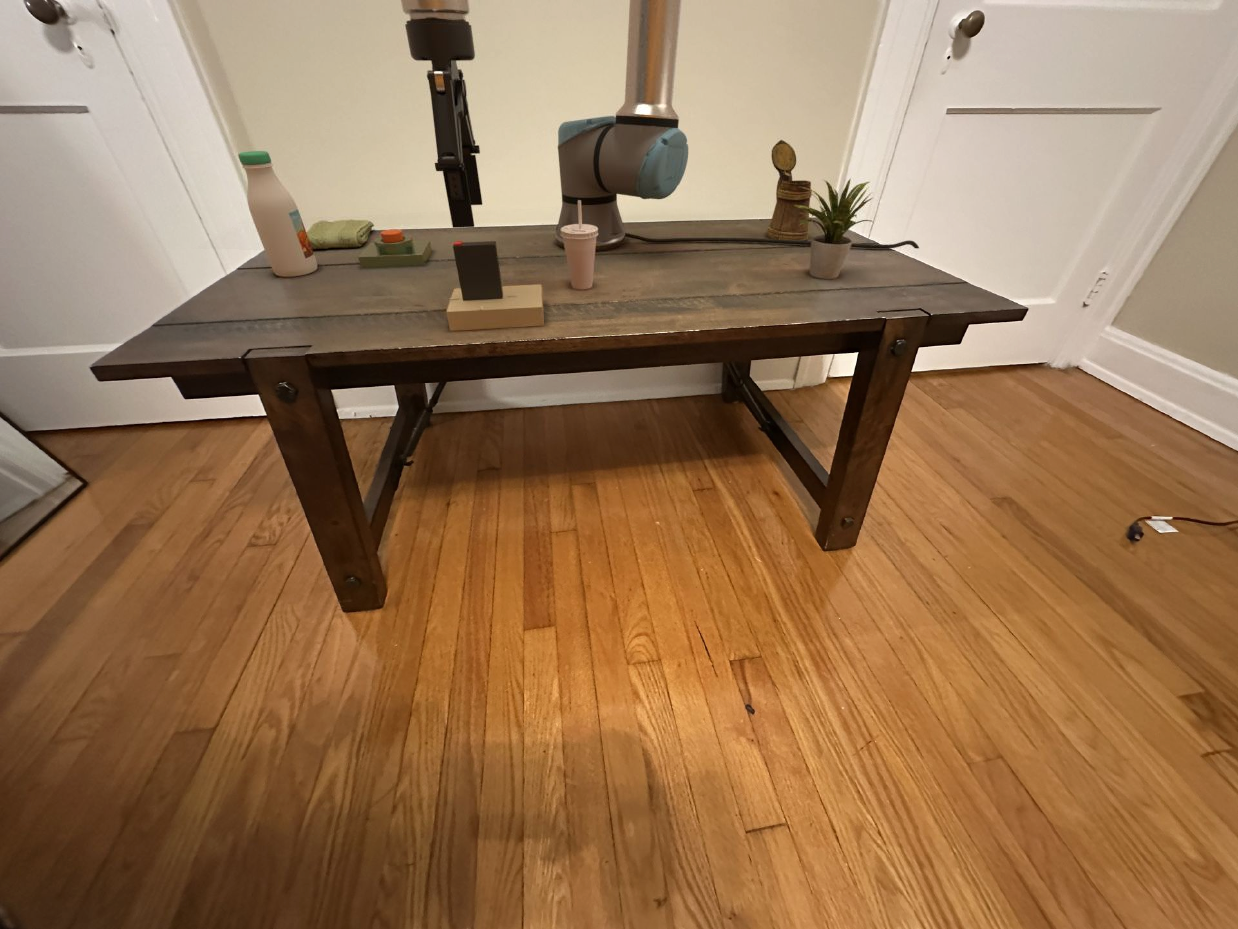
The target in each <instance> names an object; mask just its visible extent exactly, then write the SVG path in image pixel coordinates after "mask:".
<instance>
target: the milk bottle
mask: <svg viewBox="0 0 1238 929" xmlns="http://www.w3.org/2000/svg"><path fill="white" fill-rule="evenodd" d="M237 154H238V156H237V157H238V159H239V162H240V163H241V165H242V168H243V169H244V170H245V174H246V178H247V179H246V180H247V194H246V195H247V196H246V198H247V199H246V200H247V206H248V210H249V213H250V216H251V219H252V221H253V224H254V227H255V230H256V232H257V235H258V236H259V237H258V238H259V239H260V242H261V244H262V247H263V249H264V253H265V255H266V258H267V259H268V262H269V264H270V267H271V270H272V272H273V273H274V274H275V275H276V276H278V277H284V278H285V277H286V278H289V277H291V278H292V277H300V276H305V275H308V274H310V273H313V272H316V271H317V270H318V262H317V259H316V256H315V252H314V249H313V250H312V247H311V244H310V242H309V239H308V236H307V233H306V232H307V230H306V228H305V225H304V224H305V223H304V222H303V219H302V215H301V214H300V211H299V207H298V206H297V204H296V202H295V200H294V198H293V195H291V193H290V191H289V190H288V189H287V188H286V186H284V184H283V183H282V182H281V181H280V179H279V177H278V176H277V174H276V173H275V171H274V169H273V166H274V165H273V162H272V159H271V156H270V153H269V152H268V151H266V150H251V151H250V150H249V151H243V152H238V153H237Z"/></svg>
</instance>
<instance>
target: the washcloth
mask: <svg viewBox="0 0 1238 929" xmlns="http://www.w3.org/2000/svg"><path fill="white" fill-rule="evenodd" d="M373 227H375V224H374V223H373V222H372V221H370V220H367V219H341V220H335V221H328V220H319V221H317V222H314V223H313V224H312V226H310V227H309V229H308V230H306V233H307V236H308V239H309V242H310V244H311V247H312V250H313V251H314V250H320V249H321V250H329V249H331V248H334V249H339V248H340V249H349V248H351V249H352V248H360V247H362V246H363V245H364V244H365V243H366V242H367V241H368V239H369V235H370V233H371V231H372V228H373Z"/></svg>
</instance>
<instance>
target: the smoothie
mask: <svg viewBox="0 0 1238 929" xmlns="http://www.w3.org/2000/svg"><path fill="white" fill-rule="evenodd" d="M578 220H579V224H572V225H567V226H564V227H562V228H561V236H562V237H563V241H564V247H565V248H564V253H565V257H566V263H567V269H568V273H569V274H568V275H569V279H570V284H571V288H572V289H575V290H588V289H591V288H592V287H593V280H594V270H595V269H594V268H595V259H596V258H595V257H596V251H595V247H596V236H598V228H597V227H596V226H593V225H589V224H582V212H581V201H580V200H579V201H578Z"/></svg>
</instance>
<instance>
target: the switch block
mask: <svg viewBox="0 0 1238 929" xmlns="http://www.w3.org/2000/svg"><path fill="white" fill-rule="evenodd" d="M403 237H404V240H402V241H397V242H383V240H382V236H380V237H377V238H375V240H374V241H373V242H370V243H369V244H368V245H367V246H366V248H365V249H363V251H362V252H361V253H360V254H359V256H358V262H359V266H360V268H361V269H378V268H379V269H381V268H399V267H400V268H401V267H403V268H404V267H422V266H423V267H425V266H426V264H427V261H428V260H429V258H430V257H431V255H432V252H433V248H432V243H431V240H413V238H412V236H411V235H409V234H403Z"/></svg>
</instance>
